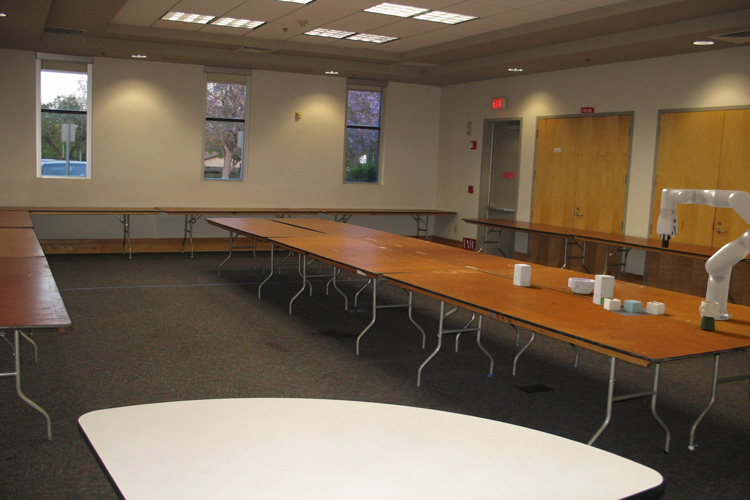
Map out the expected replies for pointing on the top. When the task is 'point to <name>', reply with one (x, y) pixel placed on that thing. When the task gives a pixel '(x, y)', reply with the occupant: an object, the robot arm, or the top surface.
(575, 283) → the paper bowls
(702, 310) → the character mug
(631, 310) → the plain block
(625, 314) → the mat
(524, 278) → the supplement box
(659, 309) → the digit block one
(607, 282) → the skincare box
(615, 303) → the digit block seven
